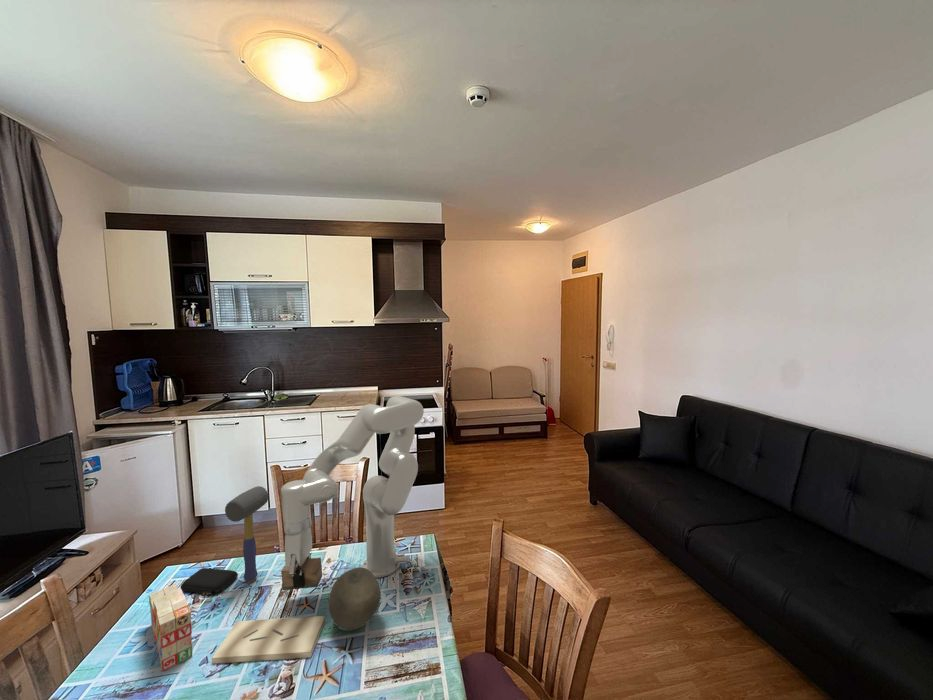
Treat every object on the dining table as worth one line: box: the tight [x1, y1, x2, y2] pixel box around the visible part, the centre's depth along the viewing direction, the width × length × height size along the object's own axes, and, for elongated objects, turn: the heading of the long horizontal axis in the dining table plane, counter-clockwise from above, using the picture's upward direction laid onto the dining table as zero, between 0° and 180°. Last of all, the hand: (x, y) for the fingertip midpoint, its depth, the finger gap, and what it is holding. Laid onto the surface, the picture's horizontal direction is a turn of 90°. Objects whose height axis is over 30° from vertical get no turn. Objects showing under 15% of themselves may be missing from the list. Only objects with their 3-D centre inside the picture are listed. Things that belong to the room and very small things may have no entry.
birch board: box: [211, 615, 326, 665], centre depth 102 cm, size 24×12×2 cm, turn 94°
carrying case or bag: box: [179, 567, 239, 596], centre depth 124 cm, size 11×3×15 cm
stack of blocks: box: [148, 583, 193, 672], centre depth 102 cm, size 21×6×12 cm, turn 45°
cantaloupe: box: [327, 566, 382, 631], centre depth 107 cm, size 14×14×15 cm
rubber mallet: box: [224, 485, 269, 583], centre depth 126 cm, size 12×8×30 cm, turn 170°
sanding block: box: [280, 557, 323, 591], centre depth 116 cm, size 10×5×6 cm, turn 94°
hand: (302, 579), depth 116 cm, fingers closed on sanding block, 5 cm apart
